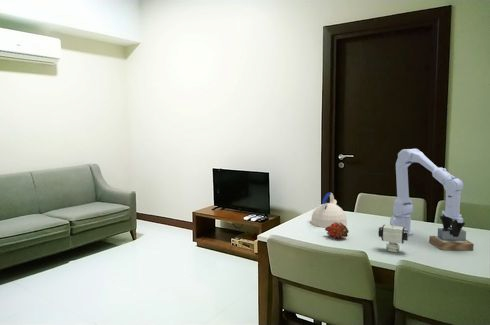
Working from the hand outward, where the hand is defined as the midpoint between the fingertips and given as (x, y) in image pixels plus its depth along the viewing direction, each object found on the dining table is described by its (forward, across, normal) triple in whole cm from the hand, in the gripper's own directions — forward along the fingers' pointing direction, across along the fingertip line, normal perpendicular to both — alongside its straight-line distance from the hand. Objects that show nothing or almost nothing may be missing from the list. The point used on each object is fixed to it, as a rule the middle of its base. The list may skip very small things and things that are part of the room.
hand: (451, 234), depth 159 cm
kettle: (+6, +37, +49) cm, 62 cm away
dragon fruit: (+6, +10, +50) cm, 51 cm away
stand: (+6, 0, 0) cm, 6 cm away
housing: (+2, 0, 0) cm, 2 cm away
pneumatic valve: (+6, -8, +29) cm, 31 cm away
